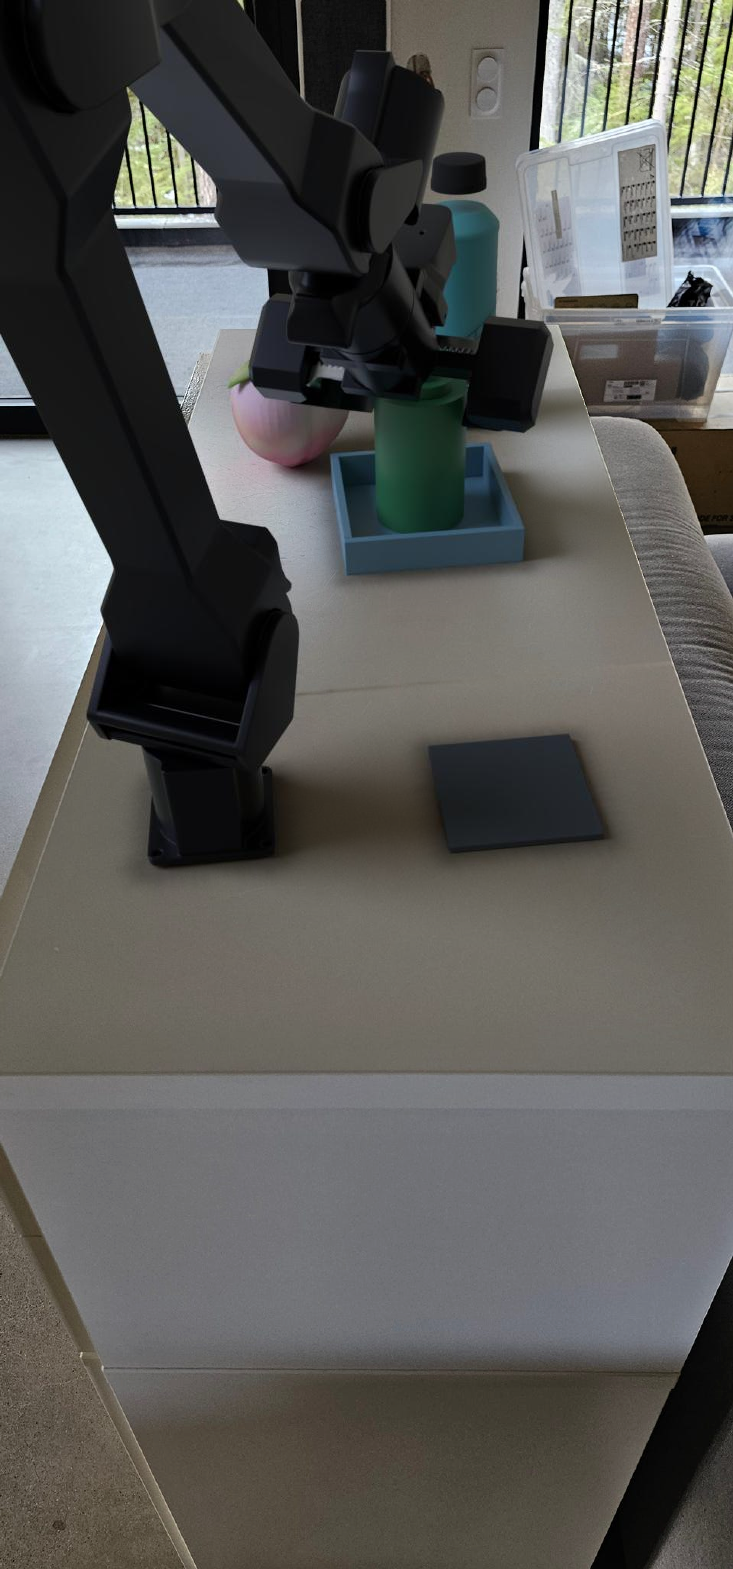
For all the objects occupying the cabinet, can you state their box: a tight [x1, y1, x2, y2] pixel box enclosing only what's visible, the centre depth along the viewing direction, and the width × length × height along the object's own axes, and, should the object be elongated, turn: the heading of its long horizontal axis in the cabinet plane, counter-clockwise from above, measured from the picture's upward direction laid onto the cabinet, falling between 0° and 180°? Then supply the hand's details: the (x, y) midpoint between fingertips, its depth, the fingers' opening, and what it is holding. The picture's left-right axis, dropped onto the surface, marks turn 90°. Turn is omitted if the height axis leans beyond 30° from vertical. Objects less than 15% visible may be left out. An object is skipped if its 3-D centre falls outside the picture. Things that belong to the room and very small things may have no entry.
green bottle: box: [373, 376, 468, 534], centre depth 77 cm, size 6×6×12 cm
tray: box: [329, 441, 526, 576], centre depth 79 cm, size 13×12×3 cm
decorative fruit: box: [227, 359, 350, 468], centre depth 84 cm, size 9×8×10 cm
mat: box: [427, 733, 606, 853], centre depth 59 cm, size 8×8×1 cm
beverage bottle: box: [430, 151, 501, 383], centre depth 86 cm, size 6×7×20 cm
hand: (426, 413), depth 77 cm, fingers open, 8 cm apart
